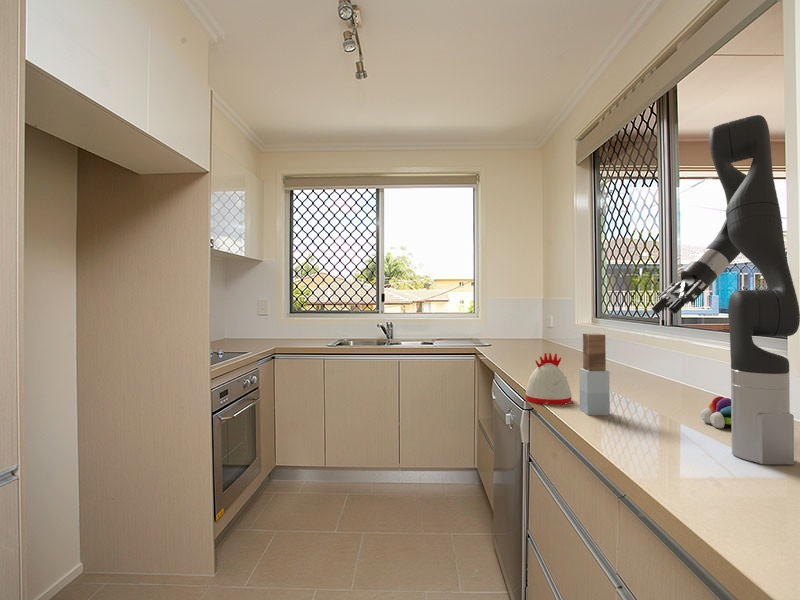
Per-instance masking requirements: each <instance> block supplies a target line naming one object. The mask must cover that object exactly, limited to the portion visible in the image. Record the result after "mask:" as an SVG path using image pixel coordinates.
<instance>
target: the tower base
mask: <svg viewBox="0 0 800 600" xmlns="http://www.w3.org/2000/svg"><path fill="white" fill-rule="evenodd" d="M610 395H611V393H586V392H584V391H582V390H580V389H579V411H580V410H581V411H580V412H582V413H583V412H584V414H585V415H587V416H610V415H611V414H610V413H611V410H610V409H611V408H610V403H611V402H610V398H611V397H610Z"/></svg>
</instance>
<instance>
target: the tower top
mask: <svg viewBox="0 0 800 600" xmlns="http://www.w3.org/2000/svg"><path fill="white" fill-rule="evenodd" d="M578 372H579V391H580V390H582V391H584V392H586V393H610V371H608V370H606V371H588V370H585V369H583V367H581V368H580V367H579V371H578ZM610 394H611V393H610Z"/></svg>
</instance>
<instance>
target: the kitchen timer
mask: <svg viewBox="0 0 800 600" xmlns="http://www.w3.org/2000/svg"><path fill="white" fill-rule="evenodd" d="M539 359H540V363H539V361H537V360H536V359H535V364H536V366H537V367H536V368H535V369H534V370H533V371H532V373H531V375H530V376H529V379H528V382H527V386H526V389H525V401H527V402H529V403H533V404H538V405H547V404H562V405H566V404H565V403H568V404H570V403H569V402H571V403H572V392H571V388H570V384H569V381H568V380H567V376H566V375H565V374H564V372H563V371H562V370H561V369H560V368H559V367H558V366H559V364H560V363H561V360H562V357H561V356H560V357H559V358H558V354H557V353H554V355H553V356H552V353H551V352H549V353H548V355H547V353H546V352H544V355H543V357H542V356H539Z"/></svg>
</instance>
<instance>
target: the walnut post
mask: <svg viewBox="0 0 800 600" xmlns="http://www.w3.org/2000/svg"><path fill="white" fill-rule="evenodd" d="M582 356H583V357H582V365H583V366H582V368H583V369H585V370H588V371H606V369H607V368H606V367H607V366H606V364H607V363H606V359H607V358H606V334H602V333H582Z"/></svg>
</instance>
